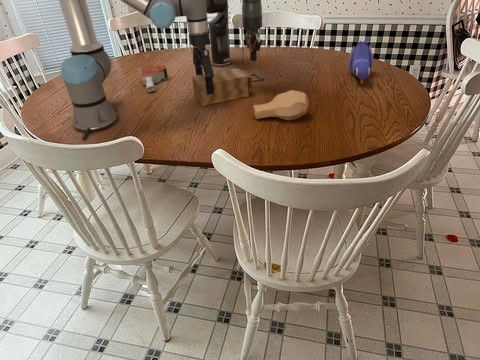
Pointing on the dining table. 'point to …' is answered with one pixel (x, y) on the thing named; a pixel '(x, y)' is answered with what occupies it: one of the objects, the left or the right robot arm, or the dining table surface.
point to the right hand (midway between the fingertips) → (253, 60)
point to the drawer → (252, 80)
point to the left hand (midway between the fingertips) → (205, 88)
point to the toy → (361, 60)
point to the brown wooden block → (221, 86)
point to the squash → (284, 106)
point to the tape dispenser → (152, 76)
